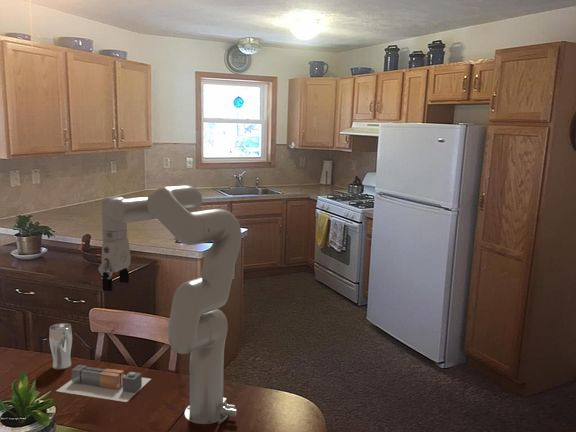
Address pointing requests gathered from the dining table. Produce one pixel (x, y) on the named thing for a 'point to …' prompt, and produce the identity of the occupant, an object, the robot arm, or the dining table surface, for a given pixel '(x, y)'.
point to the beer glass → (61, 345)
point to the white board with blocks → (123, 393)
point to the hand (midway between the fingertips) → (116, 286)
